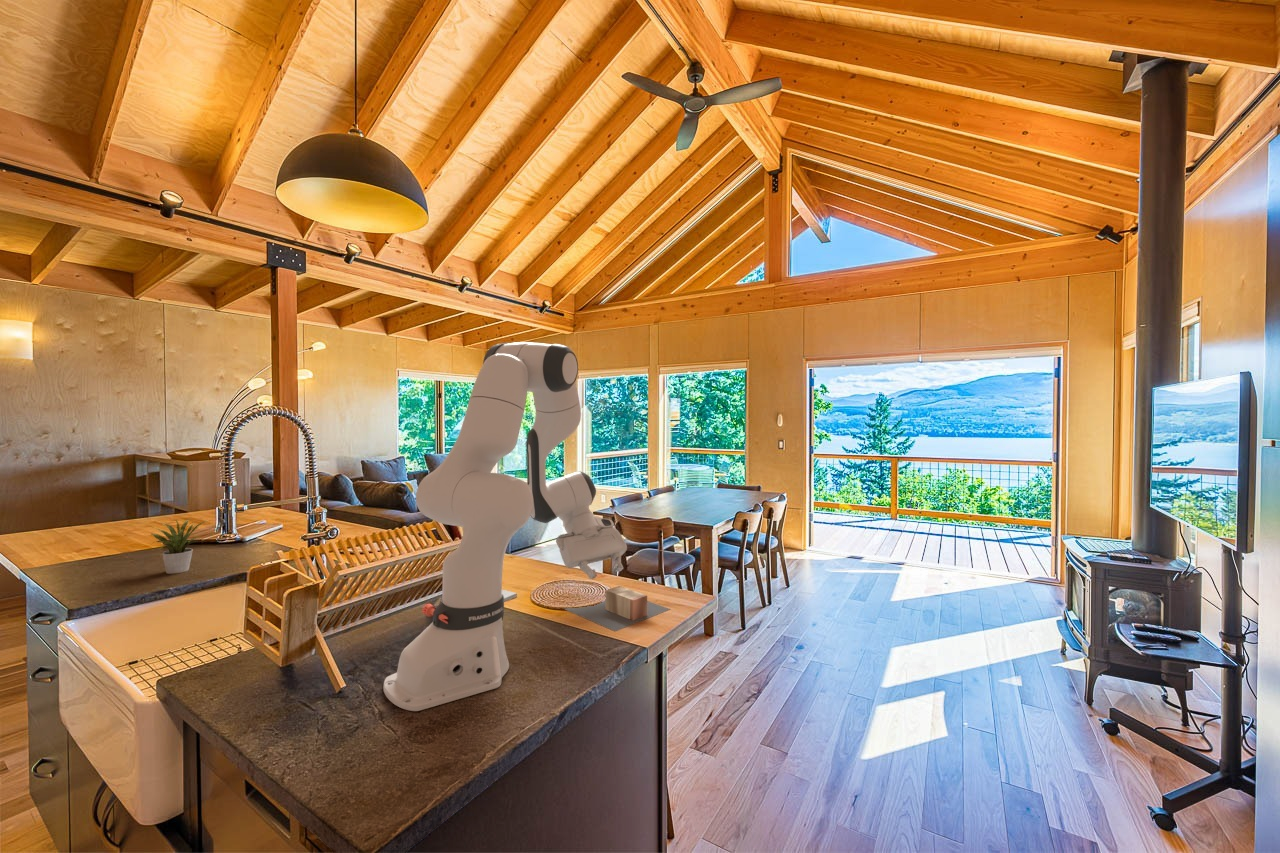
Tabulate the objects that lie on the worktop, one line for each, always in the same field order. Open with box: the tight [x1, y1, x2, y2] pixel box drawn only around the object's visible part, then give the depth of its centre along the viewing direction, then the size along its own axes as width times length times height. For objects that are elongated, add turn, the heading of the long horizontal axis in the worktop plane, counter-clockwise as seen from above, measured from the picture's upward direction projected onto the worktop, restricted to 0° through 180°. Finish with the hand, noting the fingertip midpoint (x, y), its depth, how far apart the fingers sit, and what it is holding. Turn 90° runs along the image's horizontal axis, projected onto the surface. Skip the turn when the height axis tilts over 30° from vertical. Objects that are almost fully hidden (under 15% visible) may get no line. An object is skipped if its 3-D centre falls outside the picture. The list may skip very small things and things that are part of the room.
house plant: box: [149, 519, 212, 575], centre depth 160 cm, size 14×14×16 cm
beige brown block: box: [605, 585, 648, 620], centre depth 130 cm, size 5×5×10 cm
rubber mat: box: [564, 600, 671, 632], centre depth 132 cm, size 20×19×1 cm
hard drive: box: [502, 589, 518, 603], centre depth 138 cm, size 2×8×12 cm
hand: (607, 573), depth 135 cm, fingers open, 8 cm apart
